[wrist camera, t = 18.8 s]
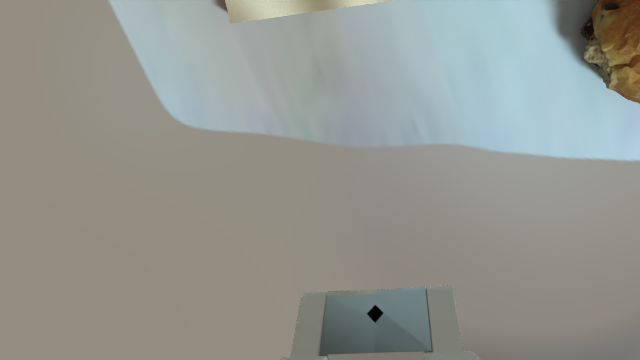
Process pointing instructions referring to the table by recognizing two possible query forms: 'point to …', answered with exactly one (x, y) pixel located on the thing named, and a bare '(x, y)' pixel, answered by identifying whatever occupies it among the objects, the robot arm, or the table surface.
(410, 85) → the table surface
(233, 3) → the board
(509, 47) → the table surface
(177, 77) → the table surface
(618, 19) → the bread roll
